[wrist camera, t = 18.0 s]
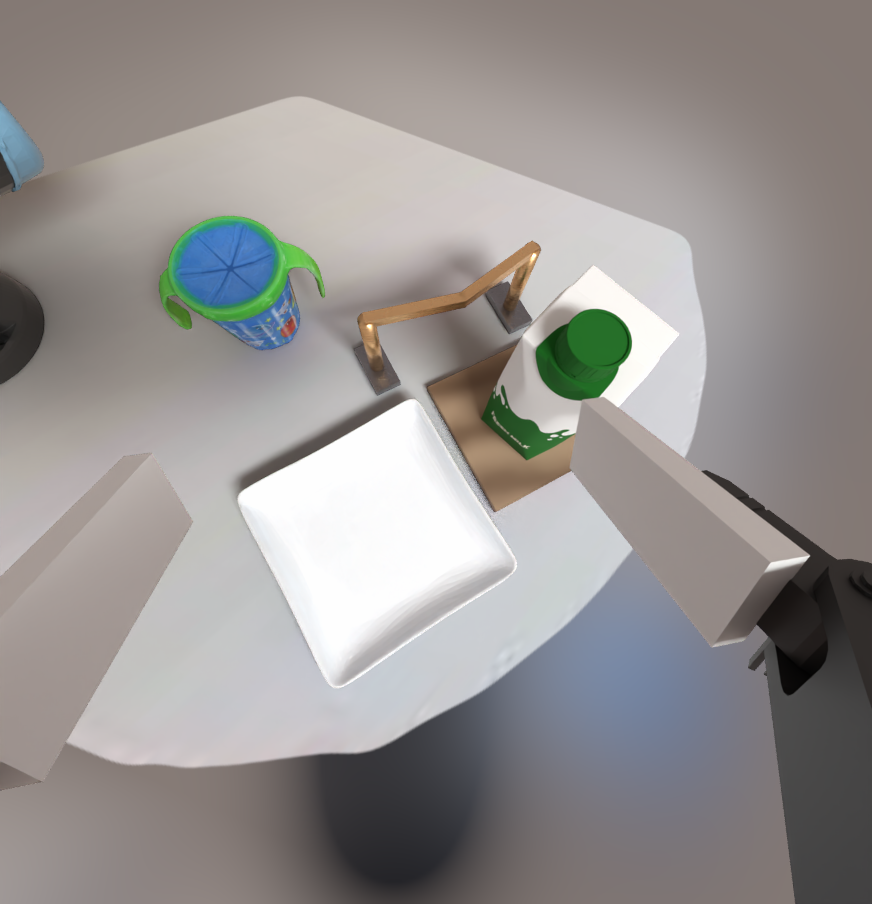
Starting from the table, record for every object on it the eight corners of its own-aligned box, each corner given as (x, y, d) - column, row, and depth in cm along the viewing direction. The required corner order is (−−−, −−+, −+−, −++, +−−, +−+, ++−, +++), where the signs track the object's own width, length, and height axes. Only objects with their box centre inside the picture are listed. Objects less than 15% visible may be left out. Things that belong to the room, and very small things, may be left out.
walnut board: (427, 390, 42) (427, 386, 41) (541, 336, 45) (544, 331, 44) (494, 512, 40) (496, 511, 39) (612, 447, 42) (617, 445, 41)
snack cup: (204, 374, 41) (137, 324, 31) (199, 294, 43) (135, 224, 34) (340, 354, 43) (318, 300, 33) (329, 277, 45) (304, 205, 35)
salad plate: (339, 682, 36) (331, 698, 32) (245, 497, 39) (229, 494, 36) (515, 565, 39) (524, 568, 36) (414, 404, 42) (414, 393, 39)
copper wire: (355, 353, 43) (336, 296, 33) (506, 286, 46) (531, 216, 36) (377, 395, 42) (364, 351, 32) (529, 324, 45) (563, 263, 35)
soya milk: (469, 419, 41) (517, 315, 21) (520, 367, 42) (608, 227, 23) (527, 472, 40) (635, 415, 20) (577, 416, 42) (720, 314, 22)
